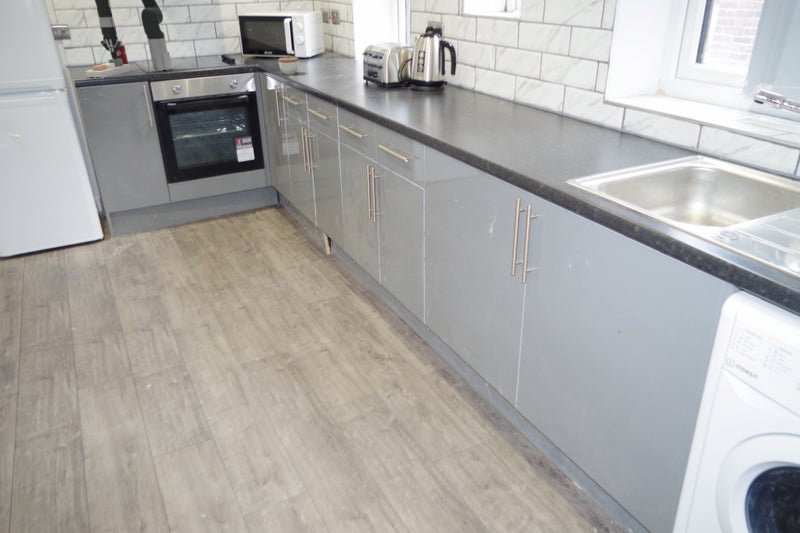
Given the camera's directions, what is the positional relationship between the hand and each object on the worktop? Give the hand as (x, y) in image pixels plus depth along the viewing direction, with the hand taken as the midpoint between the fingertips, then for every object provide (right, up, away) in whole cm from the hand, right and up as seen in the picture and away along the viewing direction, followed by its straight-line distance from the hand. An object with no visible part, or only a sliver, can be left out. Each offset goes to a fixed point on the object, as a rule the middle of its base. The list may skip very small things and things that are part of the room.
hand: (114, 58), depth 338 cm
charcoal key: (0, -4, +2) cm, 4 cm away
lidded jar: (+101, -13, -13) cm, 103 cm away
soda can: (-6, +3, +23) cm, 24 cm away
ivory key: (-1, -8, -4) cm, 9 cm away
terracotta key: (-3, -11, -10) cm, 15 cm away
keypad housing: (-1, -10, -3) cm, 10 cm away
